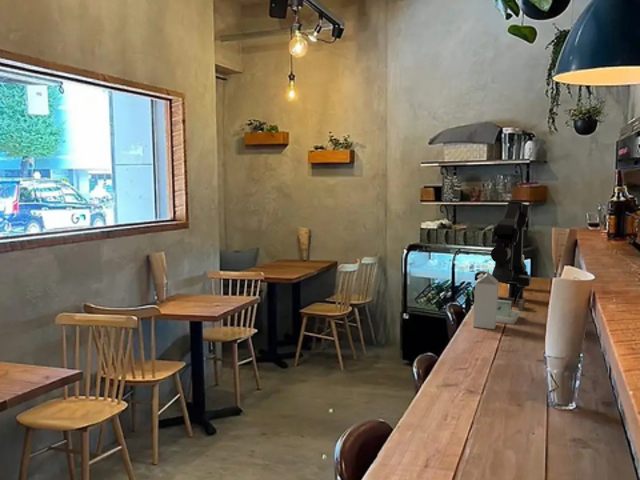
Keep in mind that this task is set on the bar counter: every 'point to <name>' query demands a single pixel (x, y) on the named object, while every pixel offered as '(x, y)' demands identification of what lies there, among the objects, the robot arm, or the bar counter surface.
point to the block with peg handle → (503, 308)
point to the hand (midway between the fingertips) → (501, 302)
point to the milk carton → (485, 301)
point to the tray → (509, 318)
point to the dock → (519, 302)
